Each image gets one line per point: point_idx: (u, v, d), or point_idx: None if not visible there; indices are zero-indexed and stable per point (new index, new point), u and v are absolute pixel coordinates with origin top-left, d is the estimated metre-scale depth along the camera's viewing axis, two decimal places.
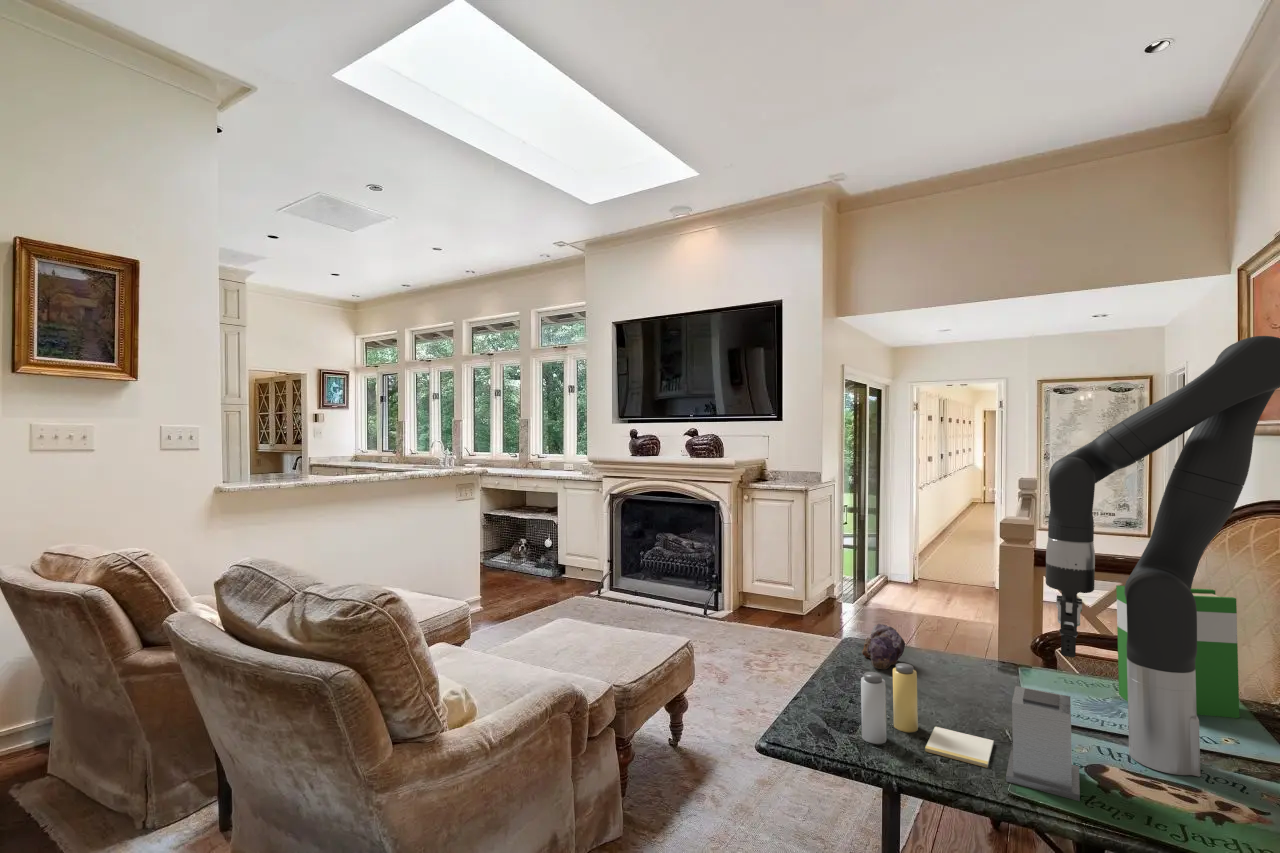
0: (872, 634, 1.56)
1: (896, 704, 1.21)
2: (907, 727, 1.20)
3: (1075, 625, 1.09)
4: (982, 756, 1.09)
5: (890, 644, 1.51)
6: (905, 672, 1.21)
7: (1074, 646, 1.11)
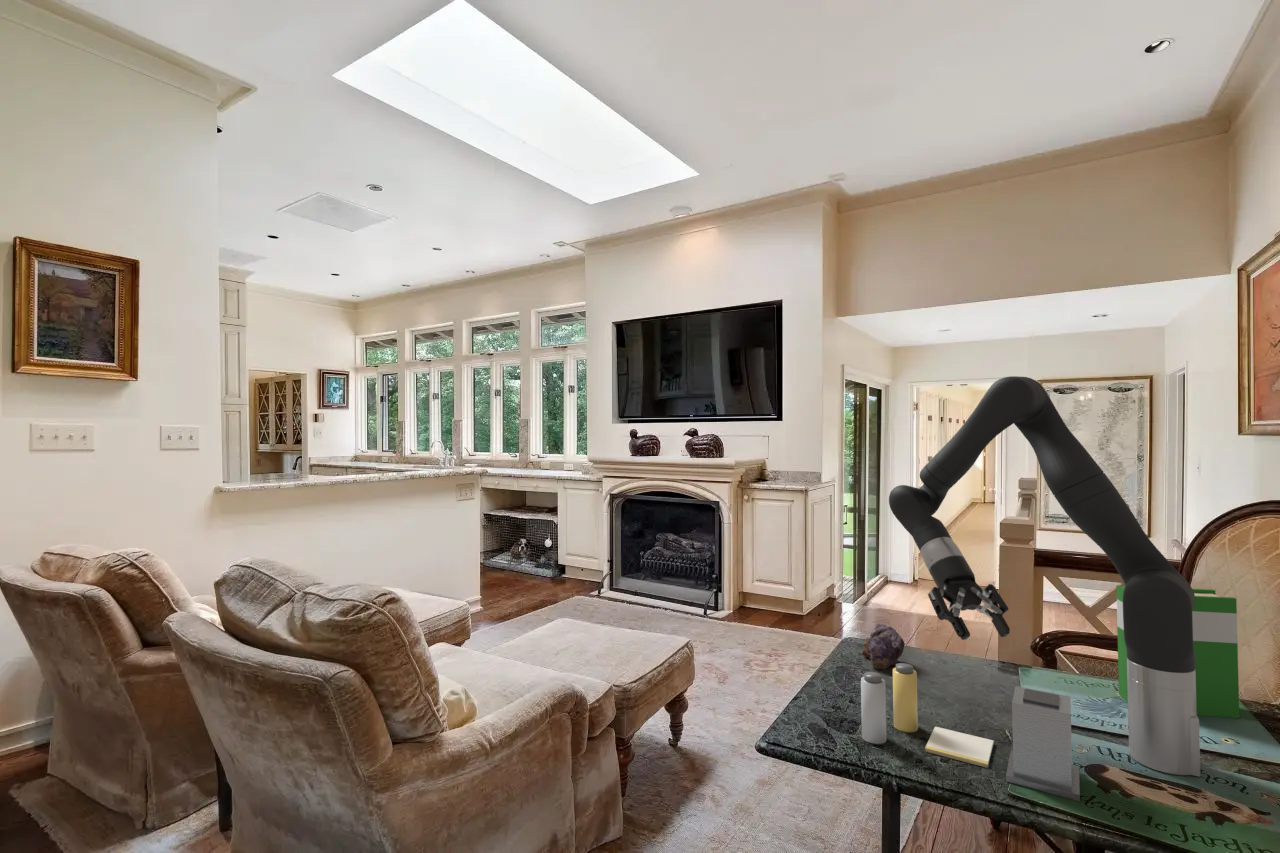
0: (871, 634, 1.56)
1: (896, 704, 1.21)
2: (907, 727, 1.20)
3: (939, 604, 1.21)
4: (982, 756, 1.09)
5: (889, 644, 1.51)
6: (905, 672, 1.21)
7: (962, 625, 1.18)
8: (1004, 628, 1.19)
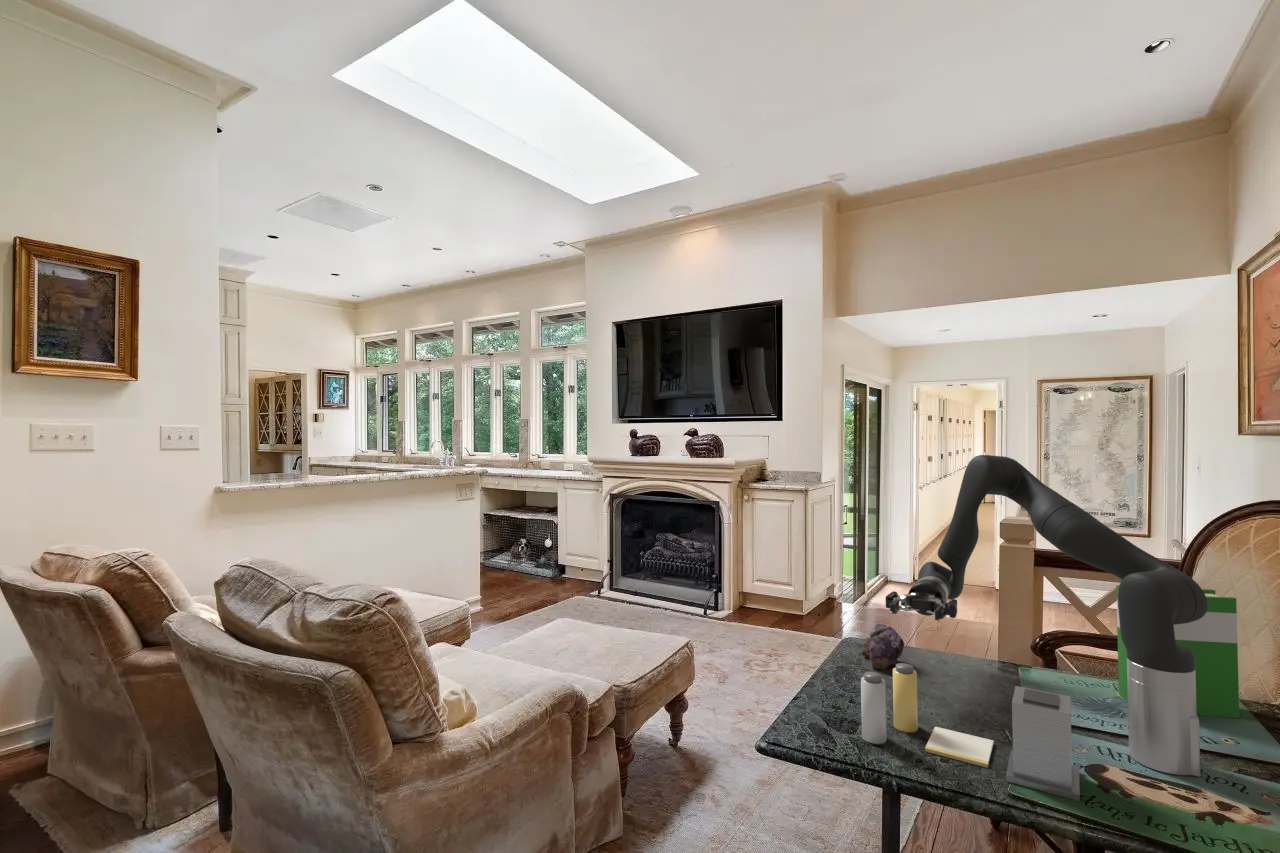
0: (871, 634, 1.56)
1: (896, 704, 1.21)
2: (907, 727, 1.20)
3: (887, 595, 1.40)
4: (982, 756, 1.09)
5: (888, 644, 1.51)
6: (905, 672, 1.21)
7: None
8: None
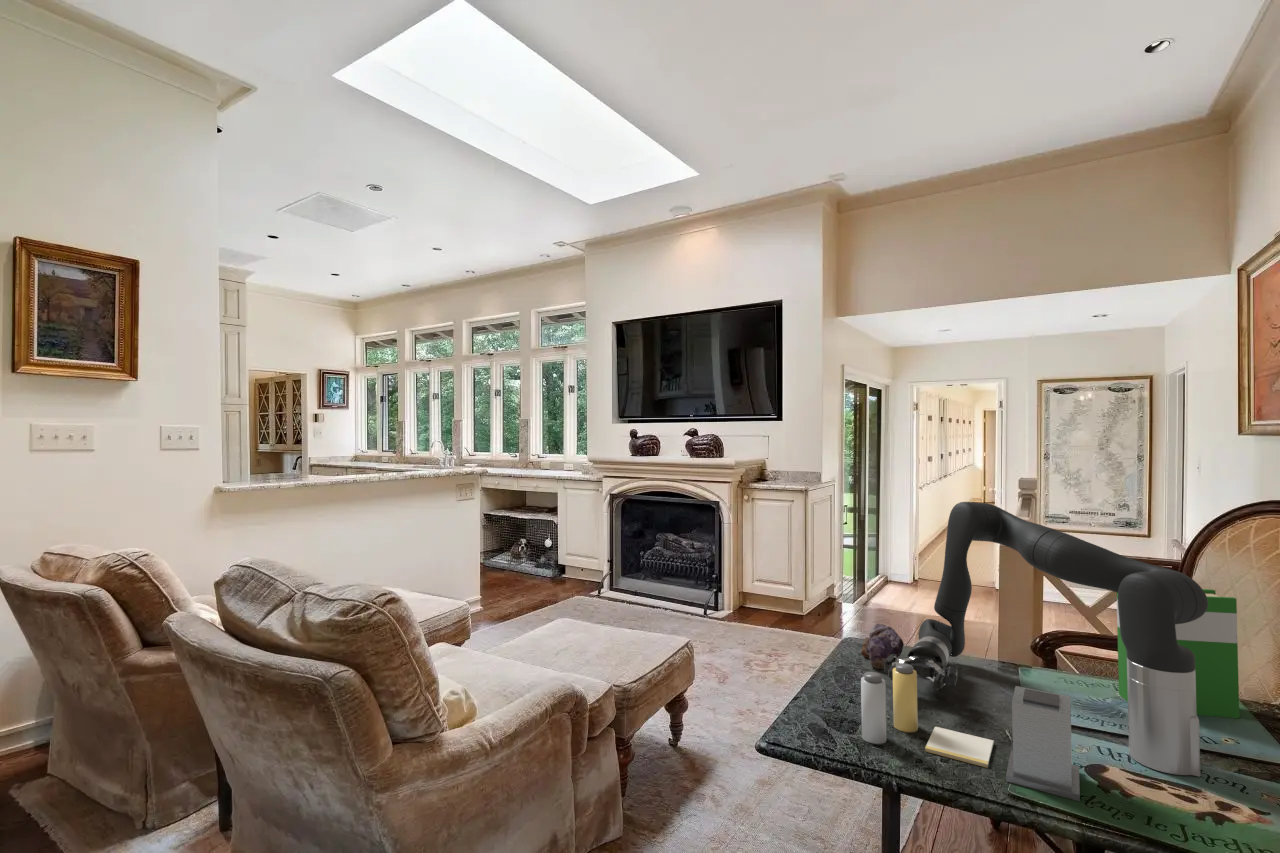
0: (870, 634, 1.56)
1: (896, 704, 1.21)
2: (907, 727, 1.20)
3: (886, 659, 1.38)
4: (982, 756, 1.09)
5: (888, 644, 1.52)
6: (905, 672, 1.21)
7: (892, 668, 1.33)
8: None
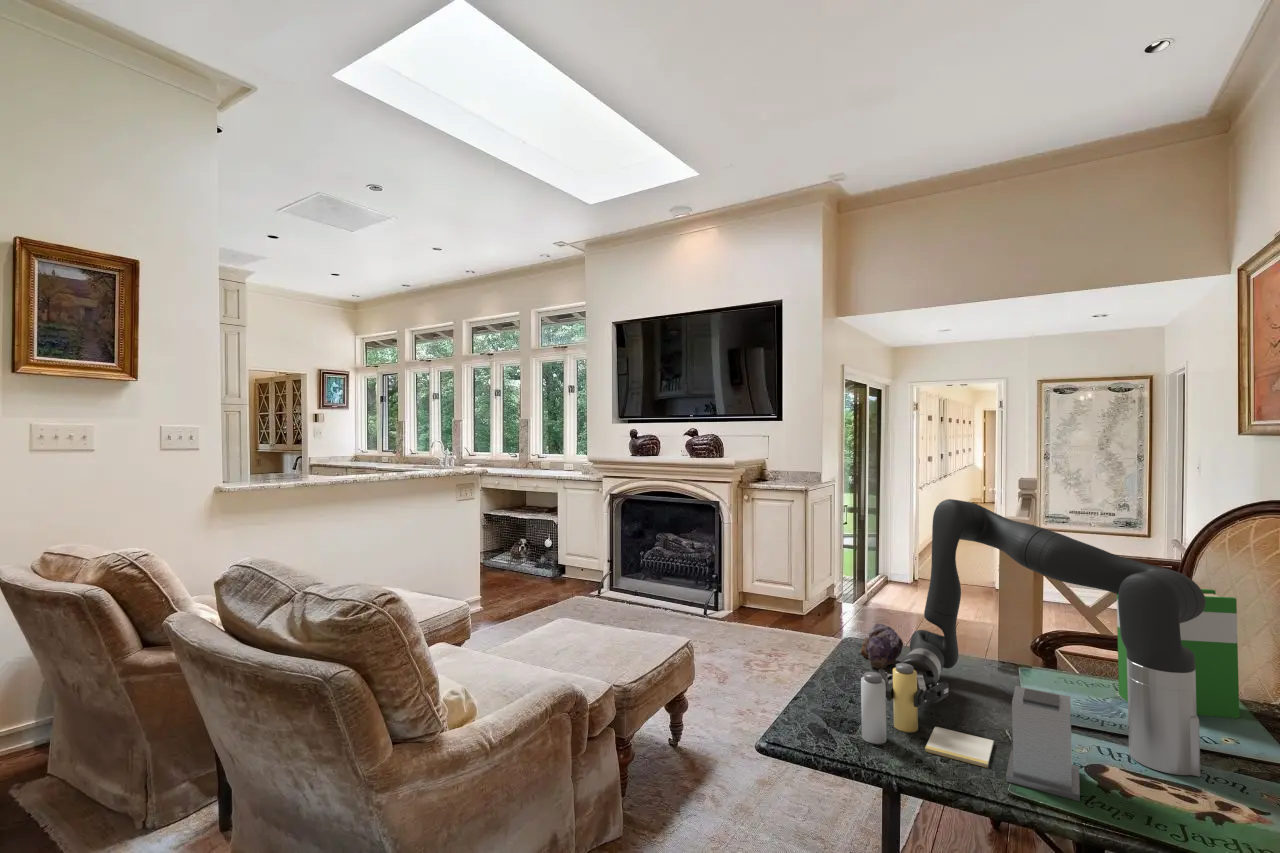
0: (870, 634, 1.56)
1: (896, 704, 1.21)
2: (907, 727, 1.20)
3: None
4: (982, 756, 1.09)
5: (887, 644, 1.52)
6: (905, 672, 1.21)
7: (889, 687, 1.23)
8: (915, 695, 1.19)
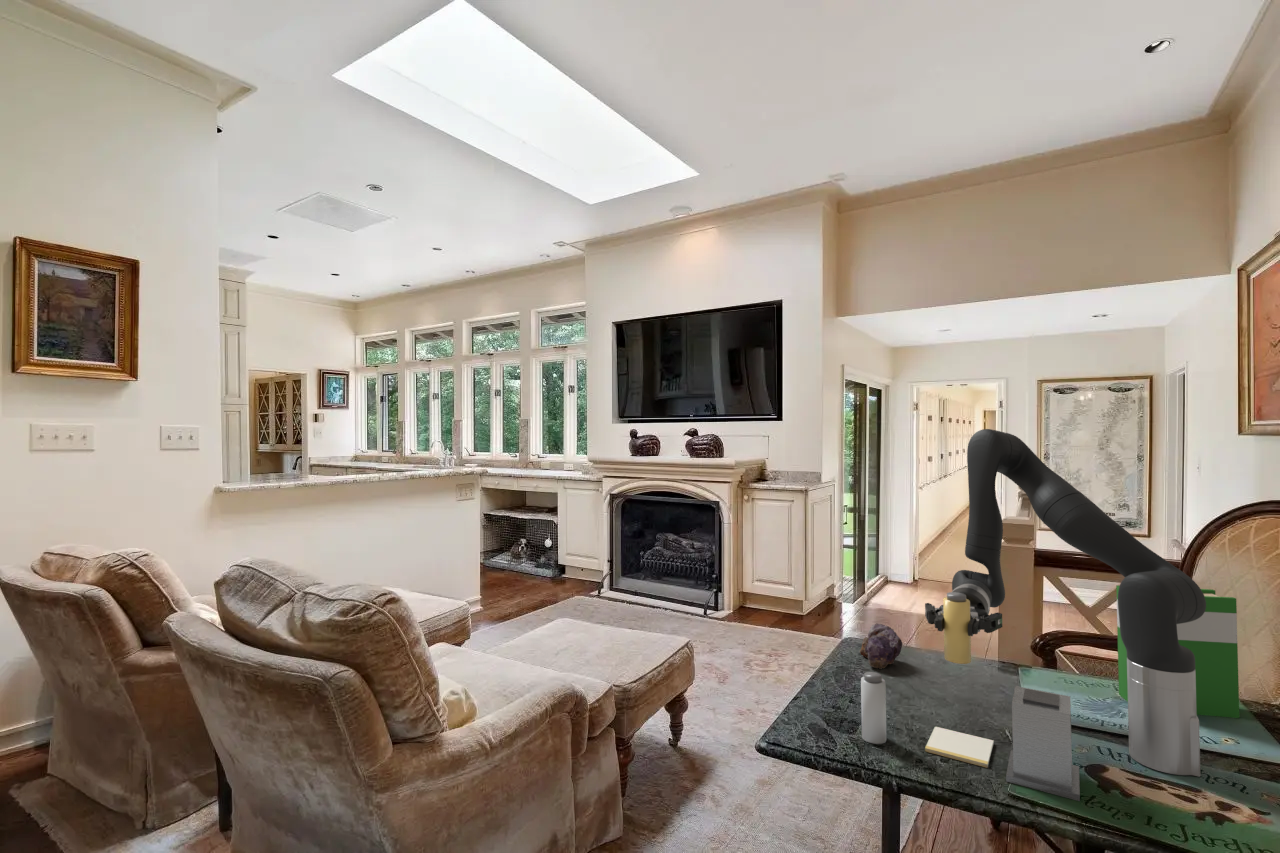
0: (869, 633, 1.56)
1: (948, 635, 1.13)
2: (960, 658, 1.12)
3: (927, 609, 1.20)
4: (982, 756, 1.09)
5: (886, 644, 1.52)
6: (958, 600, 1.13)
7: None
8: None
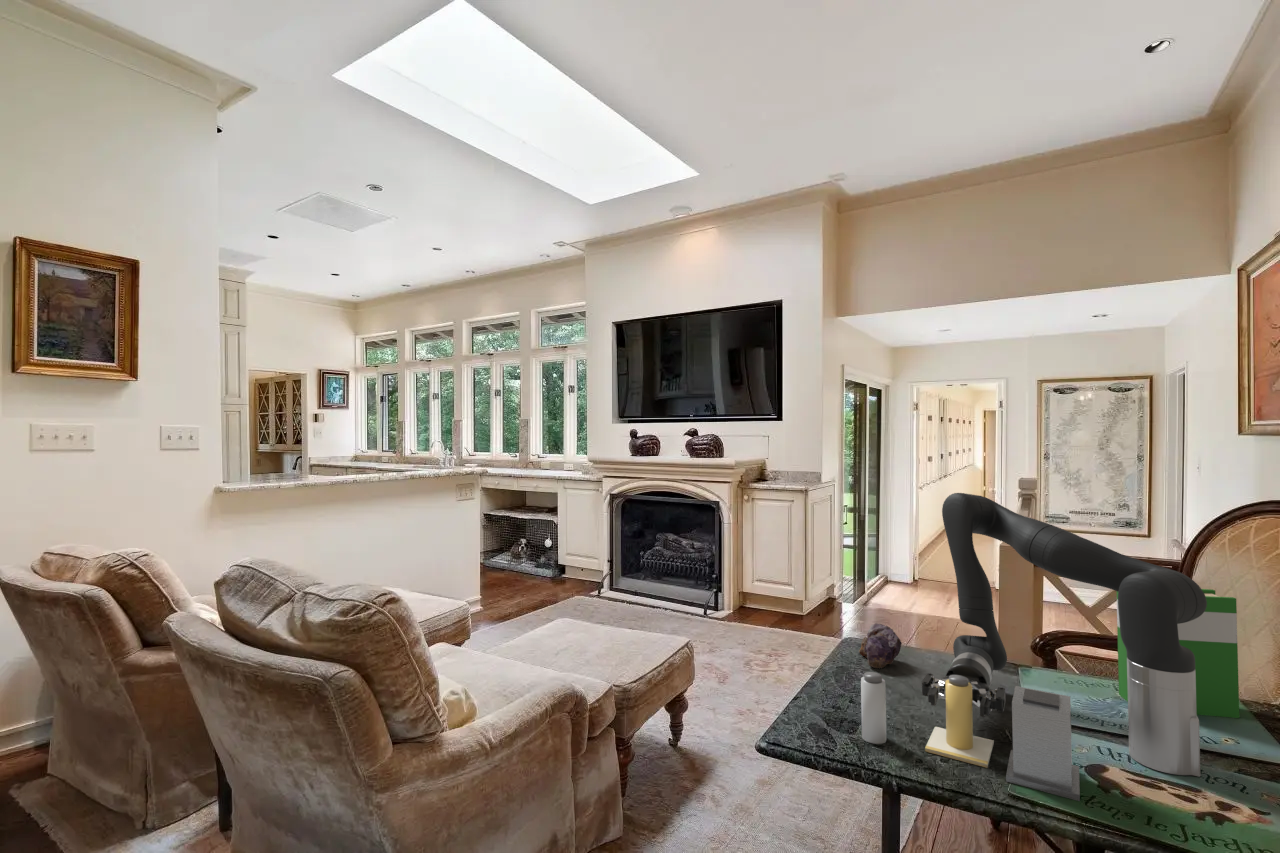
0: (868, 633, 1.56)
1: (950, 719, 1.13)
2: (962, 744, 1.12)
3: (923, 680, 1.21)
4: (982, 756, 1.09)
5: (885, 644, 1.52)
6: (960, 684, 1.13)
7: (932, 691, 1.16)
8: (980, 703, 1.11)
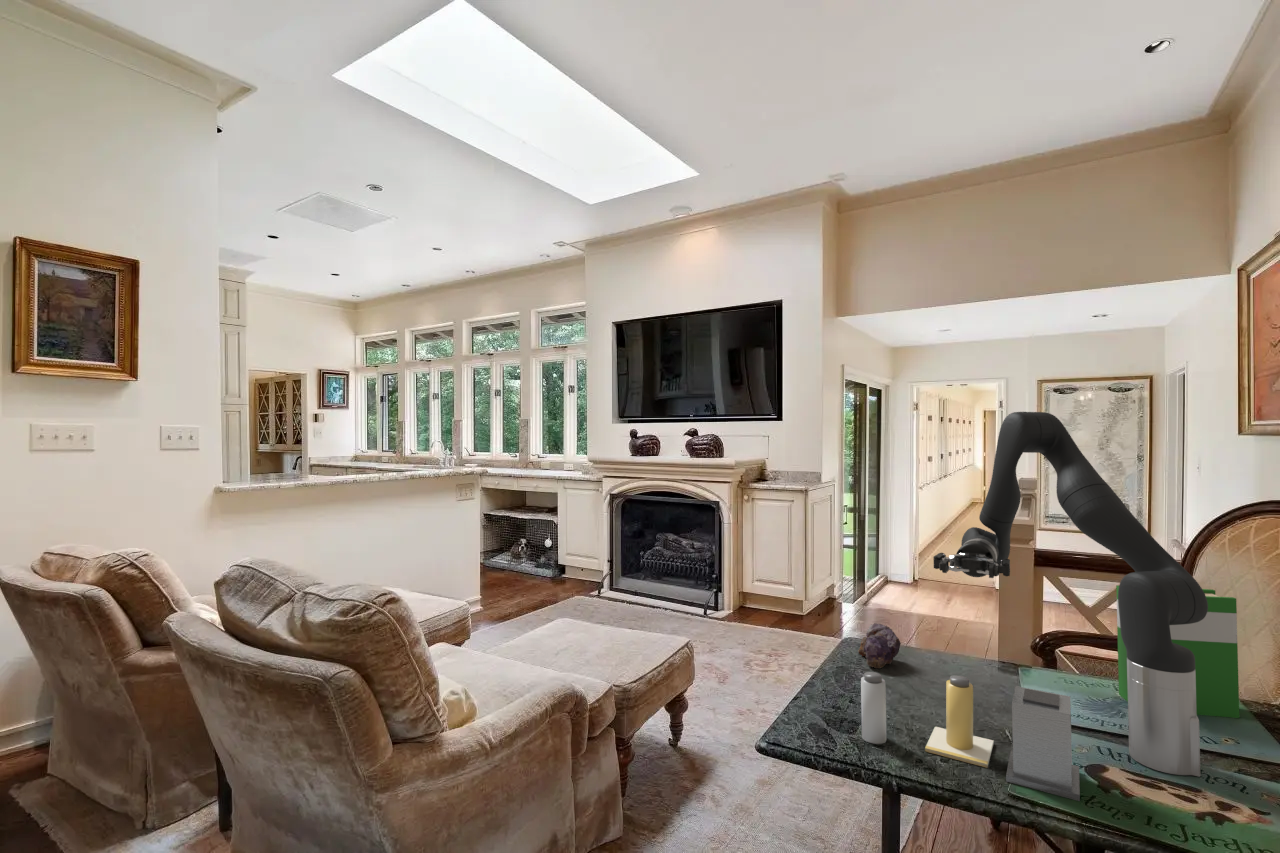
0: (867, 633, 1.56)
1: (950, 720, 1.13)
2: (962, 744, 1.12)
3: (935, 556, 1.35)
4: (982, 756, 1.09)
5: (884, 643, 1.52)
6: (961, 685, 1.12)
7: None
8: None
